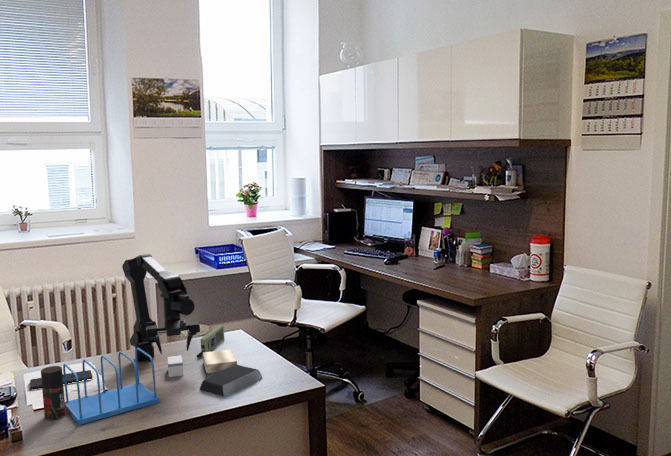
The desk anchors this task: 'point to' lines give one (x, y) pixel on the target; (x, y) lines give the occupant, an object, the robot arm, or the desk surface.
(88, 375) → the smart home device
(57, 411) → the deodorant
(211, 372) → the cream rectangular block
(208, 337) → the handheld radio
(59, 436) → the desk surface
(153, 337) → the robot arm
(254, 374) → the external hard drive
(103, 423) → the desk surface
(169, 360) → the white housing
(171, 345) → the desk surface
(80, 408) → the file sorter
